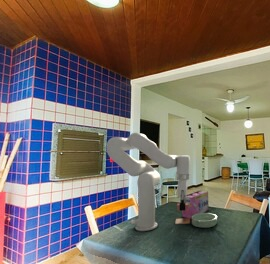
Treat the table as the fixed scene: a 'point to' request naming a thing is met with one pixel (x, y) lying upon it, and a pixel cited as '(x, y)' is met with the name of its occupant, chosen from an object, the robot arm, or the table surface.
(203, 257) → the table surface
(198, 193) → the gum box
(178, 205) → the eraser
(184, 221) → the coaster
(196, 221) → the bowl
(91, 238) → the table surface
